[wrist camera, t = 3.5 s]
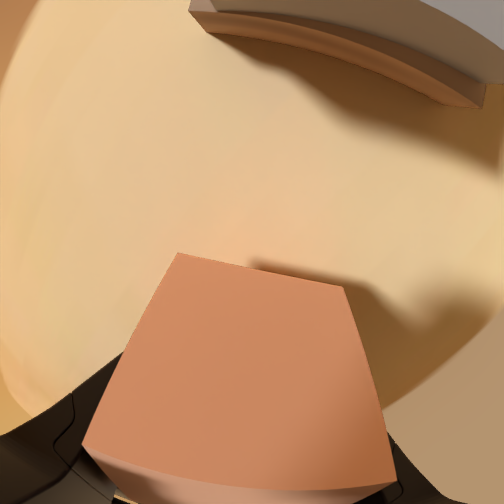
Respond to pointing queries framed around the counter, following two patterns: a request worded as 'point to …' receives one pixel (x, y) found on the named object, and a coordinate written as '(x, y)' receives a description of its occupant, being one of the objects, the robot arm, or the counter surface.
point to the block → (242, 395)
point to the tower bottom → (348, 51)
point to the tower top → (410, 26)
